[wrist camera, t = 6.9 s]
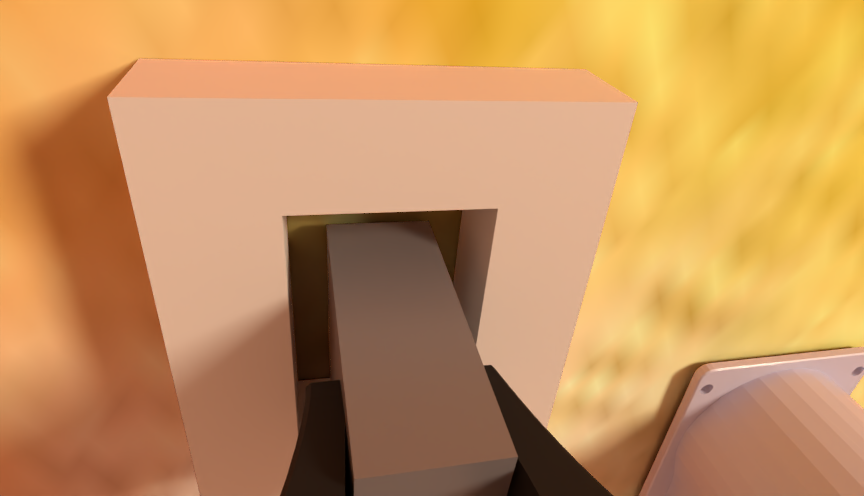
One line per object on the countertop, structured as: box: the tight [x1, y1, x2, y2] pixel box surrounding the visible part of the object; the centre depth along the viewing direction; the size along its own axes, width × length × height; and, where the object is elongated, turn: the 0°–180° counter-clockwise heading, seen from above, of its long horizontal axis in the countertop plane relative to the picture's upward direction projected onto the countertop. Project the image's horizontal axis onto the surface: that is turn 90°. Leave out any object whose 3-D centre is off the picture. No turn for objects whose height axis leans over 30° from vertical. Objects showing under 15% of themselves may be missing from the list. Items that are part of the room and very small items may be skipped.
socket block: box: [107, 59, 638, 496], centre depth 15 cm, size 12×10×2 cm
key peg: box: [326, 221, 518, 496], centre depth 13 cm, size 3×5×7 cm, turn 176°
